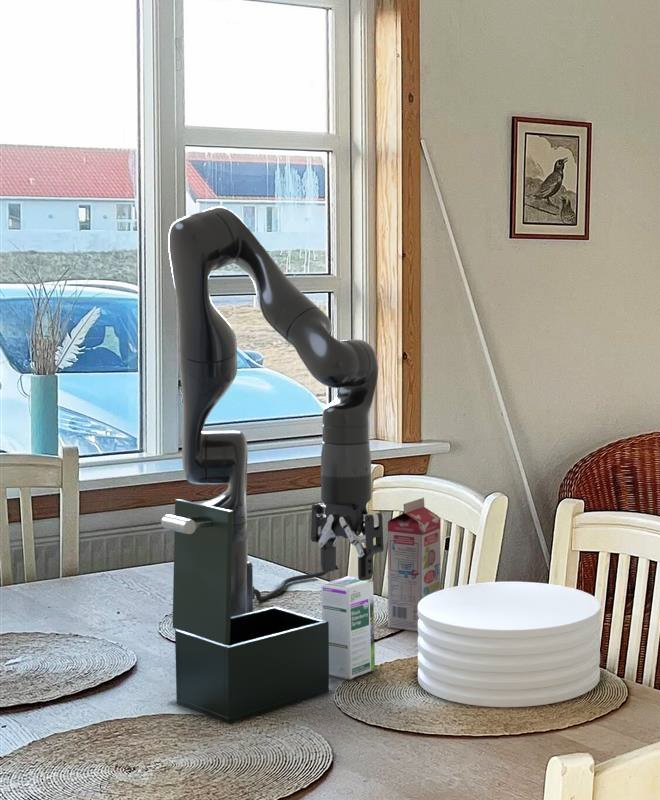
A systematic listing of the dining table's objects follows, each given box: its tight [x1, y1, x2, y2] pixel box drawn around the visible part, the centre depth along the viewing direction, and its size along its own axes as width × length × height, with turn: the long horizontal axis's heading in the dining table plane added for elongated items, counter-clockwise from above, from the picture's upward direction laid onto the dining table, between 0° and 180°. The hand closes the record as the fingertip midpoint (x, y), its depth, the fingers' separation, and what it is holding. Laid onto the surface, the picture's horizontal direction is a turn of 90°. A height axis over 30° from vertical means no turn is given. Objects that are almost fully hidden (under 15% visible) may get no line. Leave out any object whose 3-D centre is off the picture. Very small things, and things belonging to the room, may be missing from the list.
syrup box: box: [320, 575, 376, 680], centre depth 209 cm, size 6×6×14 cm
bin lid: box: [160, 498, 233, 645], centre depth 187 cm, size 18×13×5 cm
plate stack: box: [417, 581, 602, 708], centre depth 209 cm, size 28×28×12 cm
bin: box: [174, 606, 330, 725], centre depth 197 cm, size 18×13×11 cm
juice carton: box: [387, 496, 442, 632], centre depth 236 cm, size 7×7×22 cm
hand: (346, 575), depth 208 cm, fingers open, 8 cm apart
